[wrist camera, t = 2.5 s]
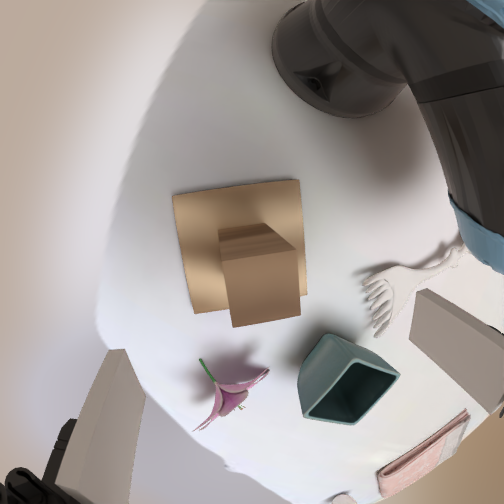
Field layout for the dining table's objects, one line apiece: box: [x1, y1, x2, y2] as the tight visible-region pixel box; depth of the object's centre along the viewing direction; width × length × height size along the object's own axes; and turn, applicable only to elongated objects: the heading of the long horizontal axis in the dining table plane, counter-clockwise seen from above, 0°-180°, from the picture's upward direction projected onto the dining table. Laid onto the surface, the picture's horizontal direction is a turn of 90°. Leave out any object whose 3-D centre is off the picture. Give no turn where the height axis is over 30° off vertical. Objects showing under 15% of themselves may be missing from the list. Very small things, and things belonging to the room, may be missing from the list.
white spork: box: [362, 243, 473, 338], centre depth 31 cm, size 9×32×3 cm, turn 113°
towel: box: [378, 409, 471, 498], centre depth 53 cm, size 36×34×6 cm
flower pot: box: [297, 334, 401, 425], centre depth 29 cm, size 9×9×9 cm
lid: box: [172, 180, 307, 328], centre depth 22 cm, size 12×12×11 cm
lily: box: [192, 359, 269, 432], centre depth 28 cm, size 12×12×10 cm
